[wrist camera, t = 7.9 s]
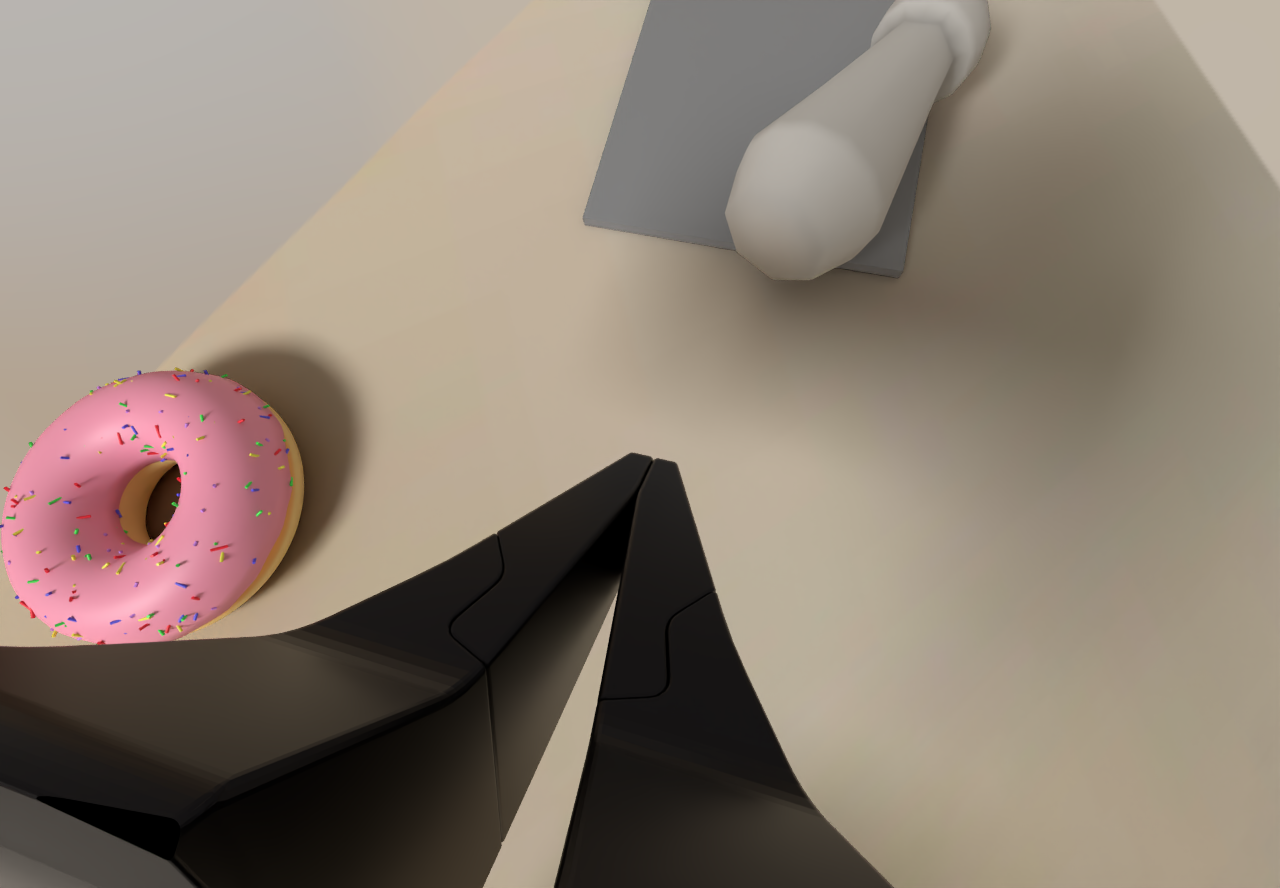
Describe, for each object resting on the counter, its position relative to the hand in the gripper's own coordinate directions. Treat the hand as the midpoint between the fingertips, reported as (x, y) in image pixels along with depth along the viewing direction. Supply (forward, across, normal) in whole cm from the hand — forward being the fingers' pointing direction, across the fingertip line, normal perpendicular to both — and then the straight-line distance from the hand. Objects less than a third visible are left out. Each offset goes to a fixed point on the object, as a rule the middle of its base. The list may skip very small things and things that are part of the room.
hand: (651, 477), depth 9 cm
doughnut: (+5, +20, +11) cm, 23 cm away
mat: (+23, 0, -7) cm, 24 cm away
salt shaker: (+13, -1, -2) cm, 13 cm away
